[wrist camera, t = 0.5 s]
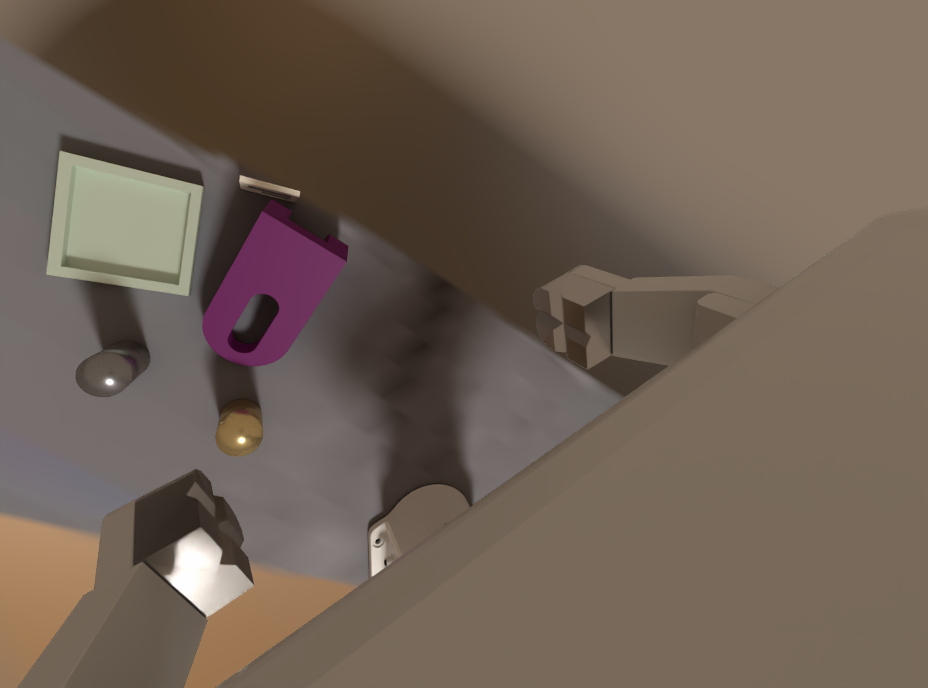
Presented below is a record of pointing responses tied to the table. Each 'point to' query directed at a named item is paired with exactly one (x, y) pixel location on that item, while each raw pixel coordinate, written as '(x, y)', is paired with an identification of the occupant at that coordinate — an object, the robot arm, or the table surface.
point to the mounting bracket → (273, 285)
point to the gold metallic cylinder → (239, 428)
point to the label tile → (268, 189)
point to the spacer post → (112, 368)
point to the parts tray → (124, 226)
